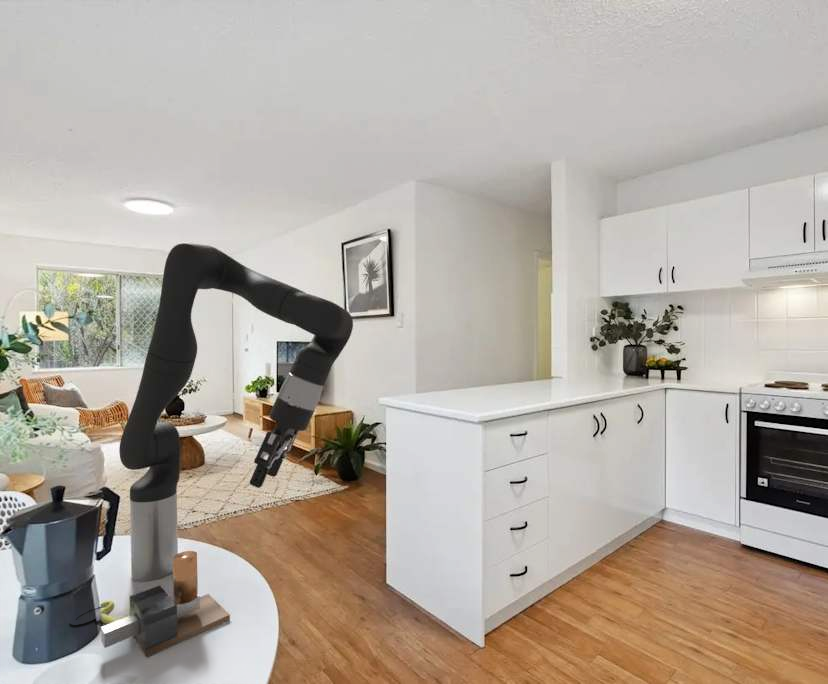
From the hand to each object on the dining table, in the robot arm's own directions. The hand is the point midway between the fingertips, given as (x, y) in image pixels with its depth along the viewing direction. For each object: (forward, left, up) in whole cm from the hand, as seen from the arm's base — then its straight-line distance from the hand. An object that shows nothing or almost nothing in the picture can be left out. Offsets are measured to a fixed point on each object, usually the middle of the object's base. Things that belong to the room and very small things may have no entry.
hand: (263, 480), depth 88 cm
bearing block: (-8, -17, -26) cm, 32 cm away
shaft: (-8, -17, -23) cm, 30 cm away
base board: (-8, -12, -26) cm, 30 cm away
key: (-21, -22, -26) cm, 40 cm away
